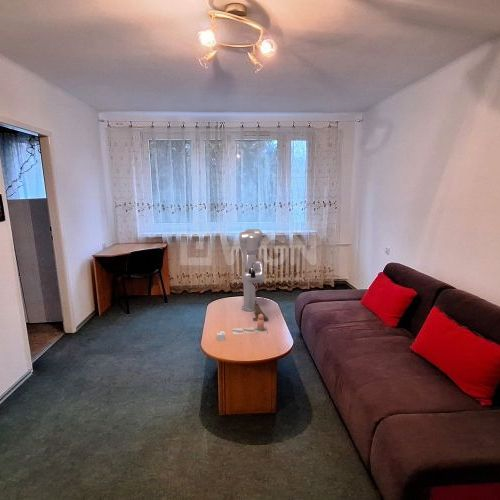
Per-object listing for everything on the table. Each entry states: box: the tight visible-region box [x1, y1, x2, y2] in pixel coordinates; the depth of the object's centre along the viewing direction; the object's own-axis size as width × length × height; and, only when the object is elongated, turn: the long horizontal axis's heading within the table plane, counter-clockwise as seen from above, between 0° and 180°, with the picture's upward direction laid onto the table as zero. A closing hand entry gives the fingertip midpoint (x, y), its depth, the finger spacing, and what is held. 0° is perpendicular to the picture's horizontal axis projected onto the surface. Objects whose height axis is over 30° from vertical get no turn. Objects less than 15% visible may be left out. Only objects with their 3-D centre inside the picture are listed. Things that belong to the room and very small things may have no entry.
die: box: [216, 330, 226, 342], centre depth 211 cm, size 5×5×5 cm
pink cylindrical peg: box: [256, 314, 265, 331], centre depth 223 cm, size 4×4×12 cm
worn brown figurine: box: [252, 299, 269, 323], centre depth 240 cm, size 12×6×18 cm, turn 94°
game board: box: [231, 326, 269, 335], centre depth 224 cm, size 11×25×1 cm, turn 98°
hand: (252, 275), depth 231 cm, fingers open, 9 cm apart
